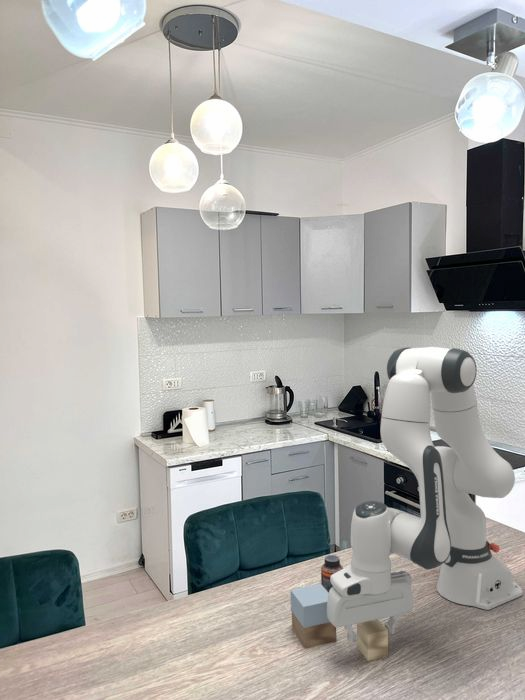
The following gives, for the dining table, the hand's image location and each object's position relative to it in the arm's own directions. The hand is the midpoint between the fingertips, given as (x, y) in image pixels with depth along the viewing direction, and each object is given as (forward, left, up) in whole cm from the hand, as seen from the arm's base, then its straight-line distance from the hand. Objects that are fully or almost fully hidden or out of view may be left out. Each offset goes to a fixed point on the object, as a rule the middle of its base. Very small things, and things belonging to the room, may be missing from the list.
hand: (370, 636), depth 116 cm
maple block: (0, 0, -4) cm, 4 cm away
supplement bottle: (-1, -23, -4) cm, 24 cm away
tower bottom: (+10, -10, -4) cm, 15 cm away
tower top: (+10, -10, +1) cm, 14 cm away
